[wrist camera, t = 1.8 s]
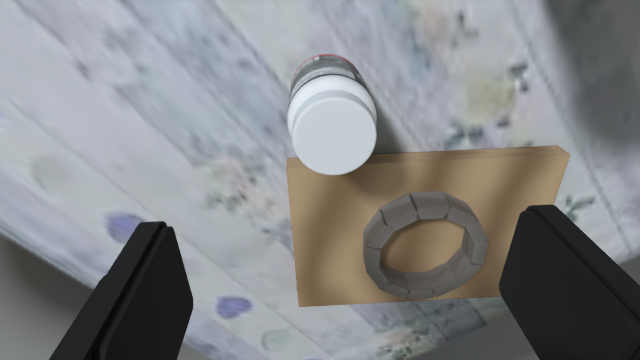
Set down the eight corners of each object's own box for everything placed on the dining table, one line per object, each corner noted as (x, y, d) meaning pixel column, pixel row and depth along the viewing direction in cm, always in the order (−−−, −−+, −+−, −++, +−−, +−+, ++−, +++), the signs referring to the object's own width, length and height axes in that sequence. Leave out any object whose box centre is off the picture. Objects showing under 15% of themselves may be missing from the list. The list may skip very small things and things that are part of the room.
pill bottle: (360, 121, 26) (381, 182, 19) (292, 123, 26) (287, 185, 18) (363, 51, 23) (390, 90, 16) (289, 52, 23) (282, 91, 16)
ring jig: (558, 145, 27) (589, 168, 24) (514, 282, 34) (534, 313, 31) (287, 158, 27) (285, 182, 24) (299, 293, 34) (298, 326, 31)
